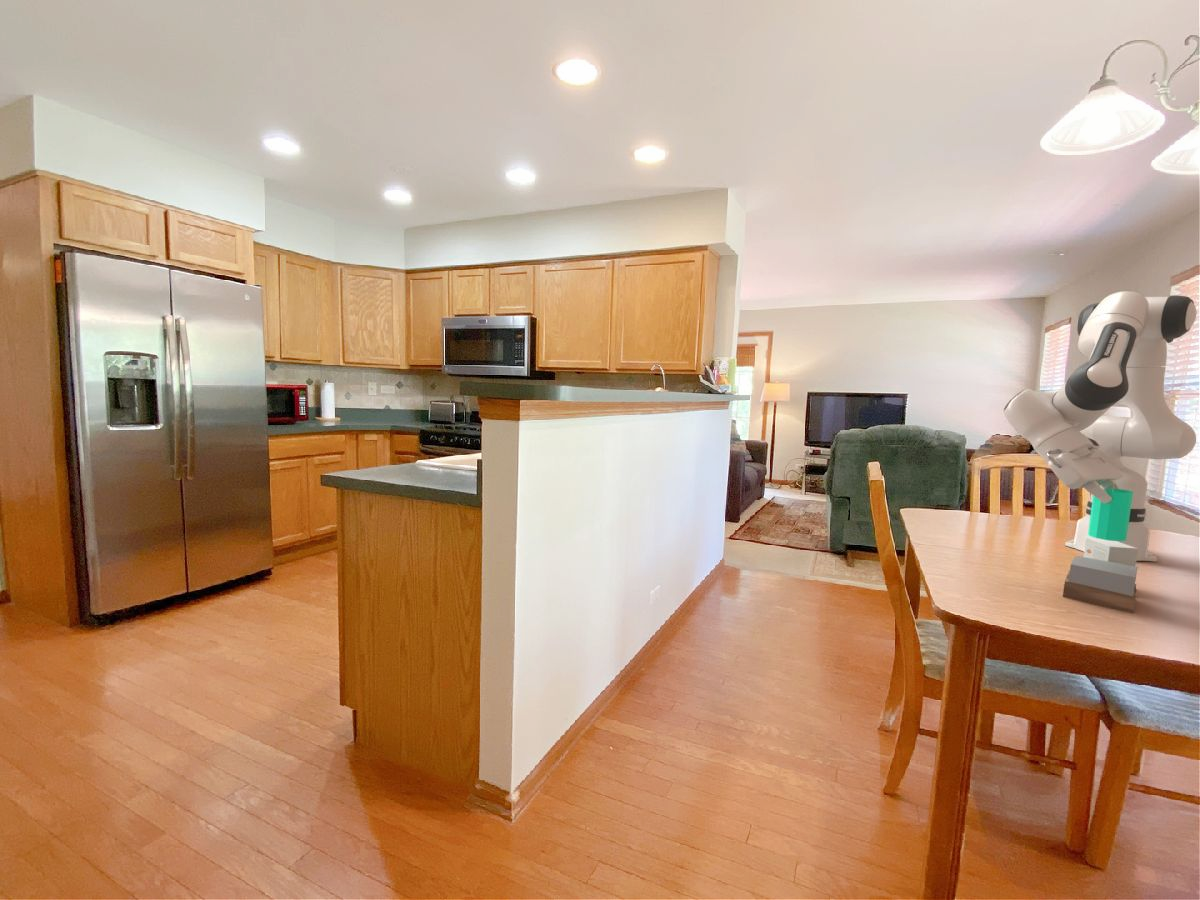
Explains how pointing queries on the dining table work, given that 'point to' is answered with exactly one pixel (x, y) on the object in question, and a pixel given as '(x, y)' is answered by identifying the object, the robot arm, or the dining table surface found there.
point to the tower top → (1103, 575)
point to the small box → (1110, 551)
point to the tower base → (1099, 596)
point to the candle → (1111, 516)
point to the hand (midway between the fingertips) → (1115, 500)
